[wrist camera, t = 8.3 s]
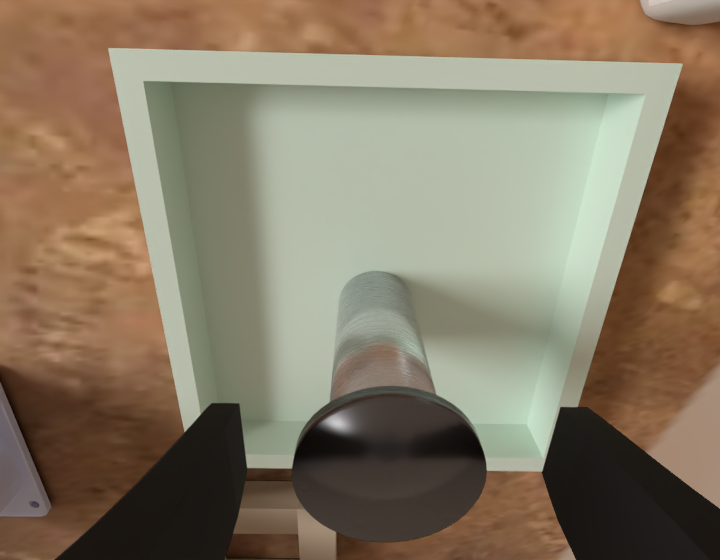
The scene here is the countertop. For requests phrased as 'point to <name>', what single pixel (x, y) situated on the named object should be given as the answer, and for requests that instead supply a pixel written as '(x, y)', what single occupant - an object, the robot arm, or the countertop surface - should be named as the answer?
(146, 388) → the countertop surface
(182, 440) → the robot arm
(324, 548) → the pin collar
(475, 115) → the tray
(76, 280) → the countertop surface
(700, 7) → the eye dropper bottle
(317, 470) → the pin
